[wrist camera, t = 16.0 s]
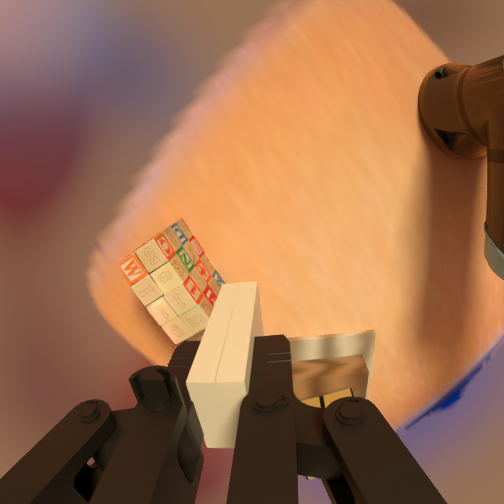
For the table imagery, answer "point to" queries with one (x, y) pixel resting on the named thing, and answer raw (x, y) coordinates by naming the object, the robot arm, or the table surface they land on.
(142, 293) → the stack of blocks
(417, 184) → the table surface
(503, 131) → the robot arm
